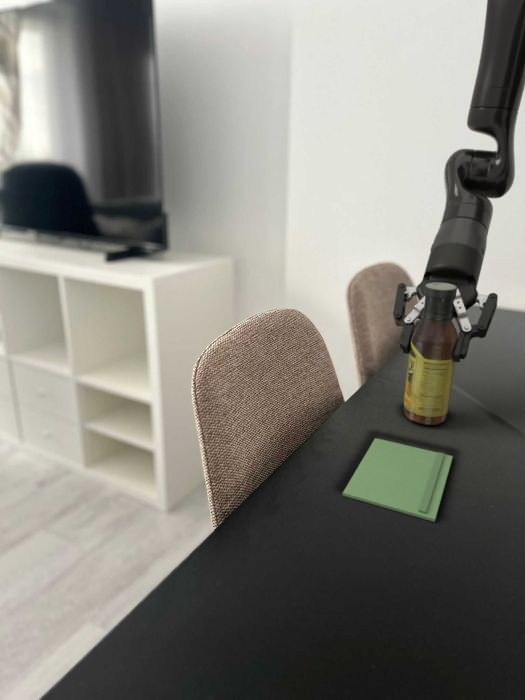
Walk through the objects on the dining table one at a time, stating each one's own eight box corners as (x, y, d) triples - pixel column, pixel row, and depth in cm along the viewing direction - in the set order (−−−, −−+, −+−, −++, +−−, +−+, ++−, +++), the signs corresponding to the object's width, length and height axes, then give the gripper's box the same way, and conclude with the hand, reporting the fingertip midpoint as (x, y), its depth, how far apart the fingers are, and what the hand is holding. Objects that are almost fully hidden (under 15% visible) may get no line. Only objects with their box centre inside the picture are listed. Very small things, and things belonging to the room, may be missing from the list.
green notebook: (374, 440, 69) (375, 435, 69) (452, 458, 65) (453, 454, 65) (342, 495, 57) (342, 490, 57) (434, 522, 53) (435, 516, 53)
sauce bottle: (409, 404, 79) (424, 277, 72) (451, 414, 76) (470, 282, 69) (396, 421, 74) (411, 286, 67) (440, 432, 71) (461, 292, 64)
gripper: (507, 276, 76) (485, 377, 70) (410, 267, 82) (382, 358, 77) (511, 244, 70) (487, 352, 64) (405, 237, 76) (374, 334, 70)
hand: (430, 355), depth 70 cm, fingers closed on sauce bottle, 6 cm apart
